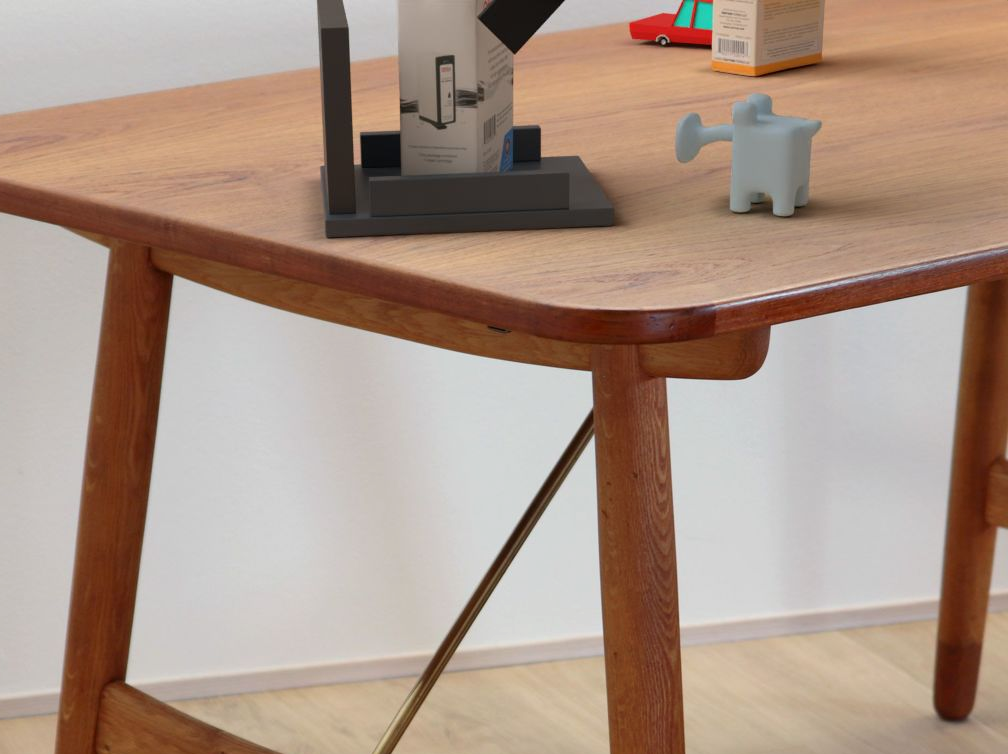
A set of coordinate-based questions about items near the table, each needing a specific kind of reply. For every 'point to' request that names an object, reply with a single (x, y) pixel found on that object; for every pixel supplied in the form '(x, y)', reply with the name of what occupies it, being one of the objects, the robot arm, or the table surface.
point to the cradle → (438, 197)
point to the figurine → (757, 153)
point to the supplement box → (766, 35)
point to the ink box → (453, 90)
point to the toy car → (678, 24)
